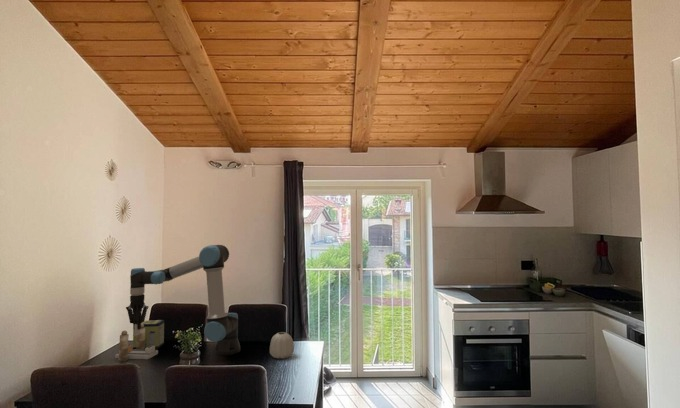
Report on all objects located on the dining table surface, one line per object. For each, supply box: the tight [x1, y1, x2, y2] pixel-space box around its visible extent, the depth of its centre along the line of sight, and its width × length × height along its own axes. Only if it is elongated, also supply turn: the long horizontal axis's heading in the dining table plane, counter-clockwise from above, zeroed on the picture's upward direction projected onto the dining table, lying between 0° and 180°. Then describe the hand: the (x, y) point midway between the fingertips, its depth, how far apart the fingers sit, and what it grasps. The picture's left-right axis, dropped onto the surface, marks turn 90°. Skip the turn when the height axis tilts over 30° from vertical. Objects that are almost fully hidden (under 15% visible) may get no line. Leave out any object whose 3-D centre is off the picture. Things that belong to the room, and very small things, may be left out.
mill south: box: [136, 324, 145, 350], centre depth 235 cm, size 4×4×16 cm
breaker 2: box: [145, 345, 156, 353], centre depth 226 cm, size 3×5×4 cm, turn 175°
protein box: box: [132, 319, 165, 350], centre depth 245 cm, size 10×16×16 cm
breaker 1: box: [128, 343, 133, 352], centre depth 227 cm, size 3×5×4 cm, turn 175°
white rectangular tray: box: [114, 348, 159, 360], centre depth 226 cm, size 20×10×3 cm, turn 85°
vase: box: [269, 331, 295, 360], centre depth 224 cm, size 14×14×13 cm
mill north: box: [118, 330, 130, 363], centre depth 219 cm, size 4×4×16 cm
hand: (136, 335), depth 227 cm, fingers closed
